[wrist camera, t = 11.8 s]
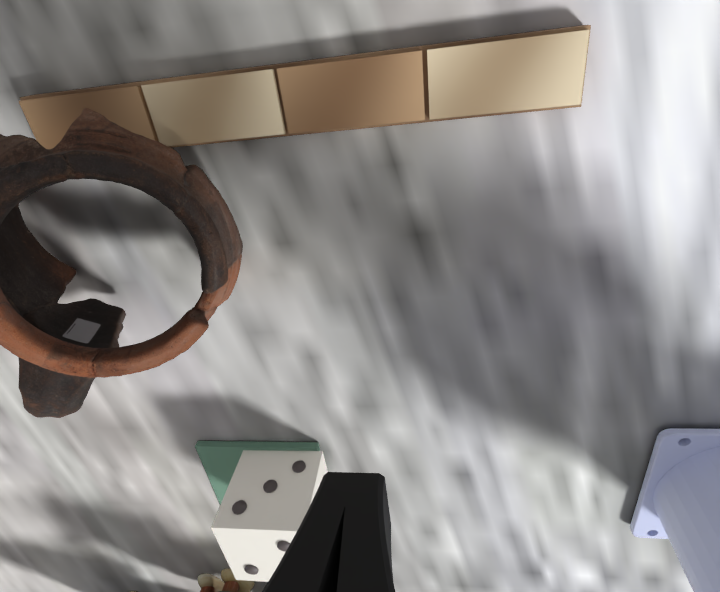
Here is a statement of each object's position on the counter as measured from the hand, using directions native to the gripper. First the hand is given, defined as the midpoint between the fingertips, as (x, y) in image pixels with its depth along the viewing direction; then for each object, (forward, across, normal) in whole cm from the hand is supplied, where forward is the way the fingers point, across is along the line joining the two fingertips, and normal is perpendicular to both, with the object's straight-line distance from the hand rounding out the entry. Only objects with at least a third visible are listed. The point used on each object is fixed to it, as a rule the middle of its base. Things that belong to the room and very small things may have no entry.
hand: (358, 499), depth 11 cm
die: (+10, +6, +12) cm, 16 cm away
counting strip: (+10, +3, -8) cm, 13 cm away
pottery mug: (+10, +11, -3) cm, 15 cm away
